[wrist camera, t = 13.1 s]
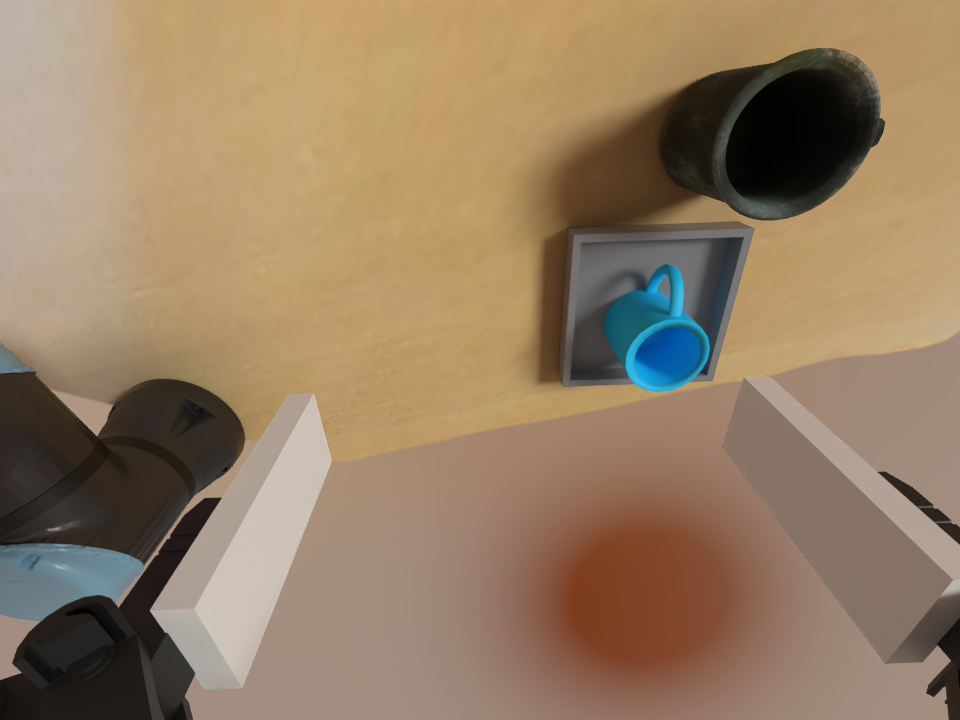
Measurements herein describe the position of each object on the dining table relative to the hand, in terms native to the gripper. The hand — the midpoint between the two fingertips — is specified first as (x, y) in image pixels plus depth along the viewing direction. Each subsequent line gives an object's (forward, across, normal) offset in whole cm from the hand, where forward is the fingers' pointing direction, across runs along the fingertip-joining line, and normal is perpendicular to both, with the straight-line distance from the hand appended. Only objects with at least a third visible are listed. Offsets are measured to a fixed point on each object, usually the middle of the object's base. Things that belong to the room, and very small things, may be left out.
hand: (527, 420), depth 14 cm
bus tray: (+35, +17, -11) cm, 40 cm away
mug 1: (+34, +17, -11) cm, 40 cm away
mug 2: (+35, +23, +6) cm, 42 cm away
